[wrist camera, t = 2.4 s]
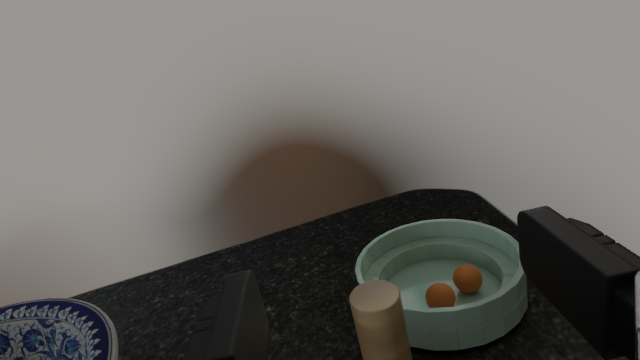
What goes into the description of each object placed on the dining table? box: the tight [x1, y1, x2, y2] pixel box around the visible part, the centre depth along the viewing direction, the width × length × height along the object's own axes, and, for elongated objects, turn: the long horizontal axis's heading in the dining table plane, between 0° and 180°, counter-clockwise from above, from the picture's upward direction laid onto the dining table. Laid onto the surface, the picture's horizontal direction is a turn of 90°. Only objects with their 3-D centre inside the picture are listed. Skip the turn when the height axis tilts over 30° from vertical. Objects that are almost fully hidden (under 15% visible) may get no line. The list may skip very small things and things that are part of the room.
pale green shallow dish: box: [355, 219, 528, 351], centre depth 45 cm, size 17×17×5 cm
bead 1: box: [425, 283, 456, 308], centre depth 42 cm, size 3×3×3 cm
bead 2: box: [453, 264, 483, 293], centre depth 44 cm, size 3×3×3 cm
